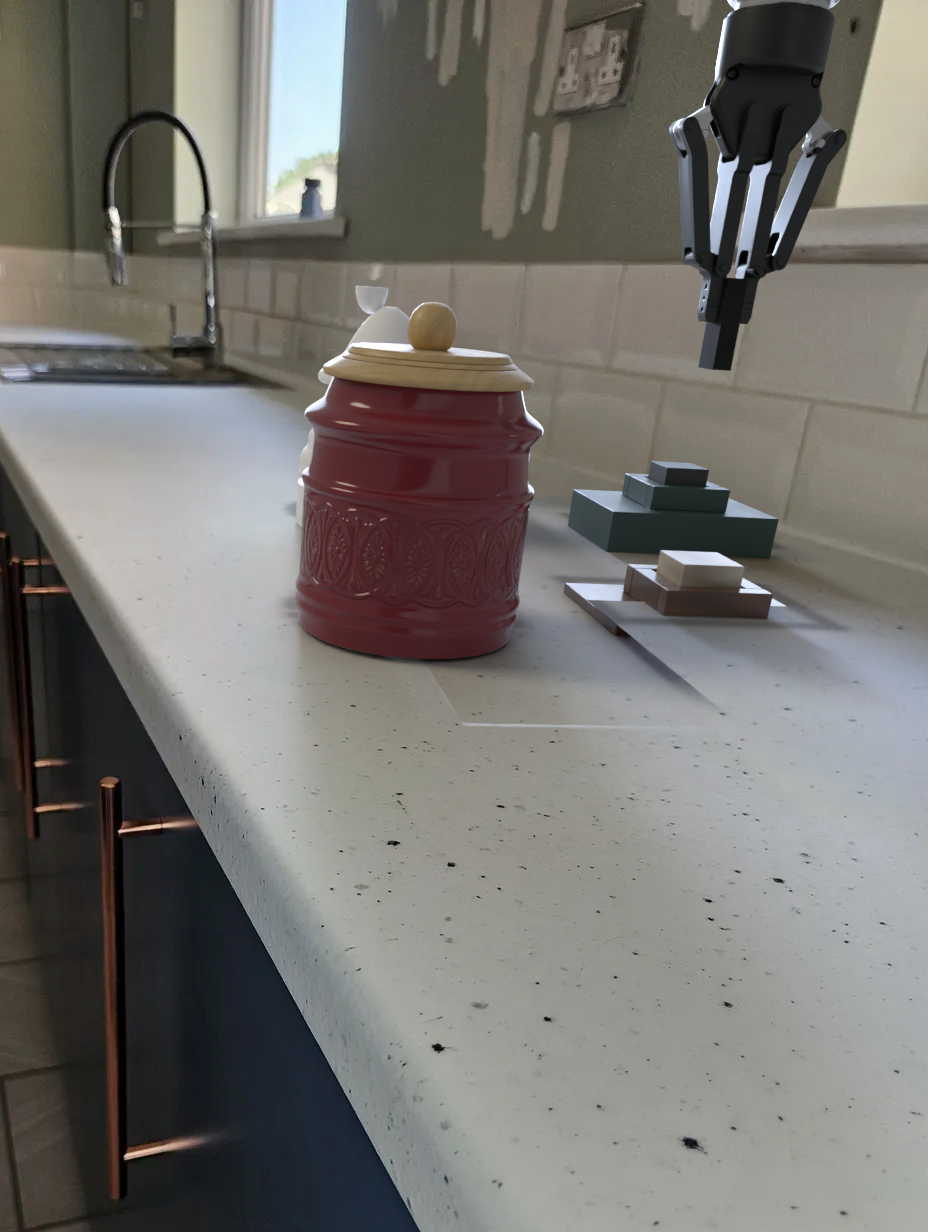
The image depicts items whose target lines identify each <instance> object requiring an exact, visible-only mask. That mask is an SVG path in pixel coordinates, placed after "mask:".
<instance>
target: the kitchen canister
mask: <svg viewBox="0 0 928 1232" xmlns="http://www.w3.org/2000/svg"><path fill="white" fill-rule="evenodd" d="M457 321H458V320H457V318H456V315H455V313H454V311H453V309H452V308H450V306H448V305H447V304H445V303H443V302H438V301H437V302H436V301H427V302H424V303H421V304H419V305H418V306H417V307H415V309H414V310H413V311H412V313H411V315H410V316H409V322H408V328H407V334H408V339H409V342H410V344H390V343H355V344H352V345H351V346H350V347H349V348H348V350H347V351H346V352H345V351H344V352H343V353H341V354H340V355H338V356H336V357H335V358H333V359H330V360H329V361H328V362H326V363H324V364H323V366H322V369H323V371H324V373H325V374H327V375H330V376H333V377H332V380H331V383H330V385H328V386H329V388H328V387H327V389H328V390H327V389H326V391H327V392H325V394H324V395H323V397H321V398H320V399H319V400H317V401H315V402H313V403H312V404H311V405H309V406H308V407H307V408H306V409H305V411H304V417H305V420H306V421H307V422H308V424H309V425H310V427H311V429H312V428H313V431H314V438H313V447H312V455H311V461H310V465H309V467H307V468H306V469H305V470H304V471H303V473H302V477H301V478H302V481H303V483H304V497H303V515H302V527H301V536H300V555H299V570H298V575H297V576H296V579H295V588H296V591H295V595H294V601H295V604H296V607H297V617H298V619H297V620H298V624H299V625H300V626H301V628H302V629H303V630H304V631H305V632H306V633H308V634H310V635H311V636H312V637H314V638H316V639H318V640H320V641H323V642H325V643H327V644H330V645H332V646H337V647H339V648H343V649H347V650H350V651H354V652H359V653H364V654H369V655H376V656H381V657H382V656H383V657H387V658H389V657H390V658H397V659H398V658H399V659H409V660H454V659H461V658H462V659H465V658H472V657H477V656H481V655H485V654H489V653H492V652H495V651H497V650H500V649H501V648H502V647H504V646H505V645H507V644H508V643H509V641H510V640H511V636H512V631H513V628H514V626H515V623H516V622H517V620H518V617H519V611H518V608H519V606H520V602H521V598H520V594H519V587H520V579H521V574H522V564H523V557H524V550H525V543H526V536H527V535H526V534H527V529H528V521H529V514H530V509H531V508H530V507H531V503H532V501H533V500H534V498H535V490H534V487H532V485H531V484H530V481H529V480H530V479H529V473H530V459H531V458H530V457H531V450H532V447H533V446H534V445H535V444H536V443H537V442H538V441H539V440H540V439H541V438H542V437H543V435H544V432H545V431H544V428H543V426H542V424H540V422H539V421H538V420H537V419H535V418H534V417H533V416H532V415H531V414H529V412H528V411H527V408H526V404H525V398H524V391H529V390H532V389H533V387H534V385H535V381H534V379H533V378H531V376H529V375H527V373H525V372H524V371H522V370H521V369H520V368H519V367H518V366H517V365H516V364H515V363H514V362H513V360H512V357H511V356H510V355H509V354H506V353H500V352H494V351H487V350H478V349H472V348H471V349H470V348H461V347H460V348H459V347H453V345H454V343H455V342H456V339H457V335H458V322H457Z"/></svg>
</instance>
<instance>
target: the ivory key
mask: <svg viewBox="0 0 928 1232" xmlns="http://www.w3.org/2000/svg"><path fill="white" fill-rule="evenodd" d="M658 555H659V556H658V561H657V565H658V566H657V571H656V573H658V574H659V575H661V576H662V577H664V578H666V579H667V580H669V581H670V582H672V583H673V584H675V585H677V586H683V587H712V588H740V587H741V583H742V578H744V575H745V571H746V570H745V569H746V567H745V566H744V565H742V564H741V563H738V562H737V561H734V560H732V559H731V558H729V557H725V556H723V555H721V554H719V553H717V552H694V551H669V550H661V551H660V554H658Z"/></svg>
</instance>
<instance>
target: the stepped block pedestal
mask: <svg viewBox="0 0 928 1232" xmlns="http://www.w3.org/2000/svg"><path fill="white" fill-rule="evenodd" d="M657 566H658V564H642V563H641V564H637V563H633V564H632V563H628V564H627V567H626V570H625V571H626V572H625V578H624V583H623V584H612V583H611V584H607V583H581V582H580V583H579V582H565V583H564V586H563V594H565V595H566V596H567V597H568V598H569V599H571V600H572V601H573V602H574V603H575V604H577V605H578V607H580V608H581V609H582V610H583V611H585V612H586V613H587V614H588V615H590V616H591V617H592V618H593V619H595V620H596V621H597V622H598V623H599V624H600V625H602V626H603V627H604V628H605V629H606V630H608V631H609V632H610V634H612V635H614V636H619V637H620V636H621V637H622V636H623V637H631V636H632V635H631V634H629V633H628V632H627V631H626V630H624V628H622V627H621V626H620V625H618V624H617V623H616V622H615V621H613V620H612V619H611V618H610V617H608V616H607V615H606V614H605V613H604V612H602V611H601V610H600V609H598V608H597V607H596V606H595V605H593V603H591V602H590V601H609V602H610V601H612V602H613V601H614V602H638V603H639V602H640V603H641V602H642V603H645V604H646V605H648V606H649V607H650V608H652V609H654V611H656V612H658V613H659V614H661V615H662V616H665V617H666V616H667V617H669V616H670V617H697V618H698V617H699V618H701V617H703V618H729V619H730V618H731V619H759V620H761V619H762V620H763V619H764V620H767V619H768V618H769V613H770V609H771V607H786V604H784V603H782V602H780V601H778V600H776V599H774V598H773V596H774V594H773V593H771V592H770V591H768V590H766V589H764V588H762V587H760V586H759V585H757V584H755V583H753V582H751V581H749V580H748V579H746V578H744V577H743V578H742V583H741V587H740V588H712V587H683V586H677V585H675V584H673V583H672V582H670V581H669V580H667V579H666V578H664V577H662V576H661V575H659V574H658V573H656V571H657Z"/></svg>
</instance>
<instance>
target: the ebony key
mask: <svg viewBox="0 0 928 1232" xmlns="http://www.w3.org/2000/svg"><path fill="white" fill-rule="evenodd" d="M709 473H710V469H708V468H706V467H703V466H700V465H698V464H695V463H692V462H680V461H661V460H660V461H659V460H651V461H650V465H649V469H648V474H649V475H648V479H650V480H653V481H655V482H657V483H659V484H661V485H678V486H698V487H706V484H707V481H708V478H709Z"/></svg>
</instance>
